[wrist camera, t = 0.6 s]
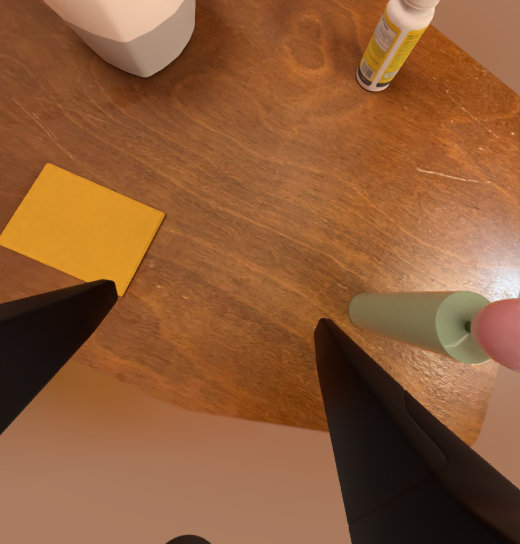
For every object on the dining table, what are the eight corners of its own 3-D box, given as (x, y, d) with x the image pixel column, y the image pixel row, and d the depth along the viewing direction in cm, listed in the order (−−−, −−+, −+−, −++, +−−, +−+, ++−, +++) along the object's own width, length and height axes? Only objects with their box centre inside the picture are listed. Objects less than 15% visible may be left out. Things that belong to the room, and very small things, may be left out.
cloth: (165, 214, 21) (164, 212, 21) (122, 296, 20) (120, 296, 20) (51, 164, 21) (47, 162, 21) (0, 243, 20) (-5, 242, 19)
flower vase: (392, 321, 21) (664, 373, 7) (359, 338, 21) (581, 427, 7) (374, 286, 22) (602, 272, 8) (341, 301, 21) (520, 316, 7)
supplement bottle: (392, 68, 25) (462, -42, 17) (385, 97, 25) (454, -2, 16) (359, 57, 25) (413, -59, 17) (351, 86, 25) (403, -20, 16)
